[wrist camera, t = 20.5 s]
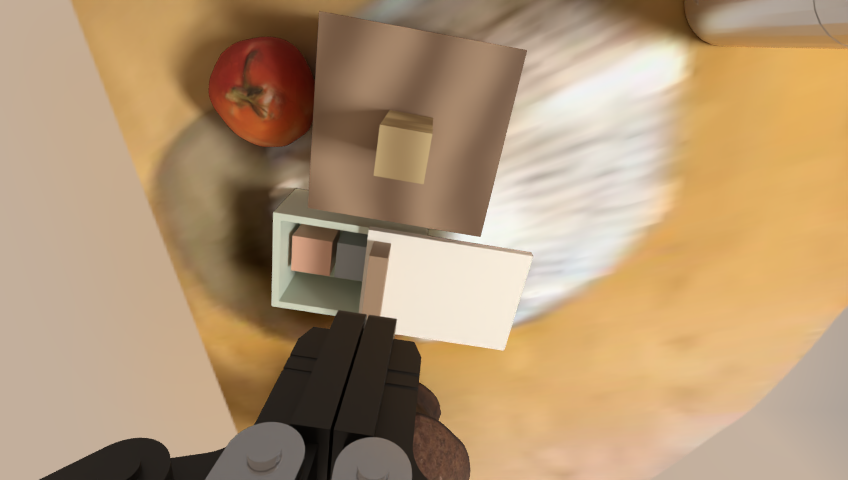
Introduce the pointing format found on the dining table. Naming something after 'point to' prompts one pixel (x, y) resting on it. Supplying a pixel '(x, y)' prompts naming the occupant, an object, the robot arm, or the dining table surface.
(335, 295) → the box
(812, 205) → the dining table surface
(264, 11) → the dining table surface
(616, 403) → the dining table surface
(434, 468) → the brown rounded lump
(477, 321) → the lid
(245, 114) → the tomato
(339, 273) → the block grey
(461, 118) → the cover
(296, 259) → the block terracotta
